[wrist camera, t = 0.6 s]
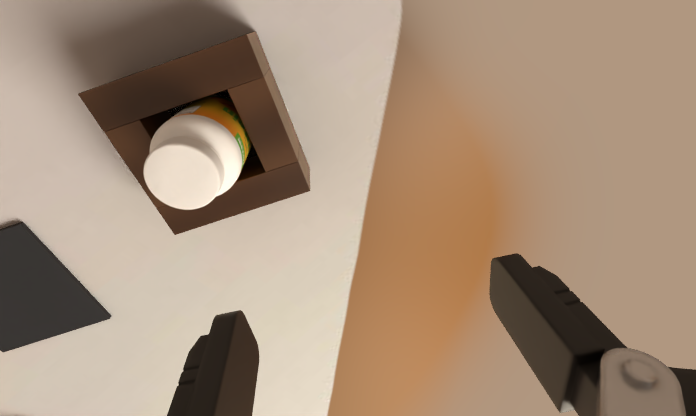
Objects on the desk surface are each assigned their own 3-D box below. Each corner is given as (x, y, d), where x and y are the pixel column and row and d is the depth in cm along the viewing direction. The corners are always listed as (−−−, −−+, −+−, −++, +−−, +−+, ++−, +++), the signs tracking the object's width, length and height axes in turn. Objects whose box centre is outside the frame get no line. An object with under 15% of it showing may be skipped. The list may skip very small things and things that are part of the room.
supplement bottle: (267, 143, 28) (252, 197, 20) (211, 171, 29) (172, 234, 20) (230, 81, 26) (194, 112, 17) (169, 112, 26) (104, 157, 18)
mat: (-102, 263, 30) (-107, 266, 29) (23, 221, 29) (19, 224, 29) (5, 349, 36) (3, 352, 35) (111, 315, 35) (109, 318, 35)
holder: (113, 81, 25) (77, 93, 21) (255, 31, 24) (246, 33, 20) (191, 207, 30) (174, 235, 26) (309, 168, 30) (310, 191, 26)
